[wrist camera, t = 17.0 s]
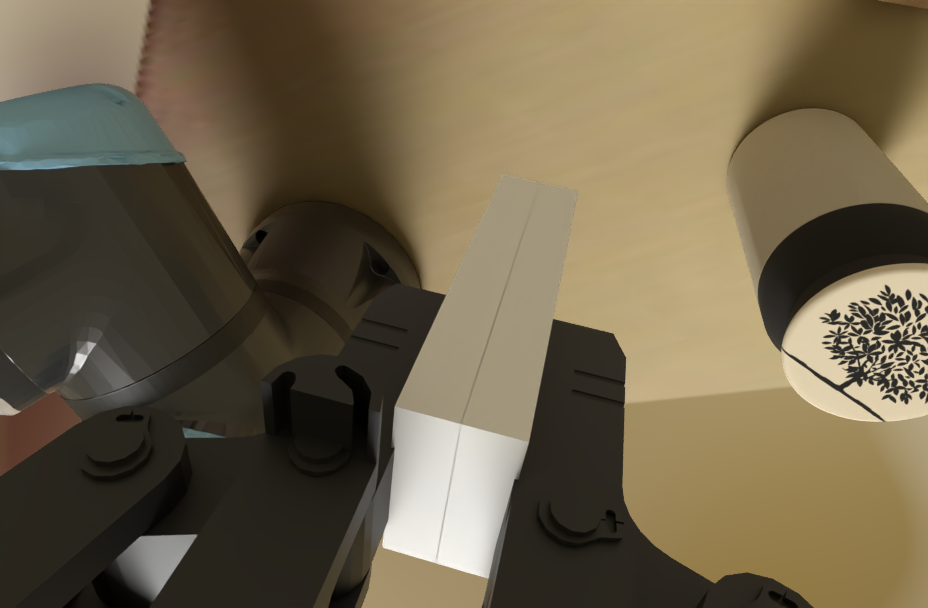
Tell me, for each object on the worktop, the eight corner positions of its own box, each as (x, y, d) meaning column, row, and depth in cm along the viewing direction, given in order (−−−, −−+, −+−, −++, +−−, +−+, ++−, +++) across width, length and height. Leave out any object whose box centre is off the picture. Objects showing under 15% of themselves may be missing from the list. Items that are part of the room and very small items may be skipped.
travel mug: (816, 76, 35) (941, 218, 20) (900, 171, 36) (1069, 364, 22) (698, 171, 39) (732, 342, 25) (778, 251, 41) (853, 455, 27)
